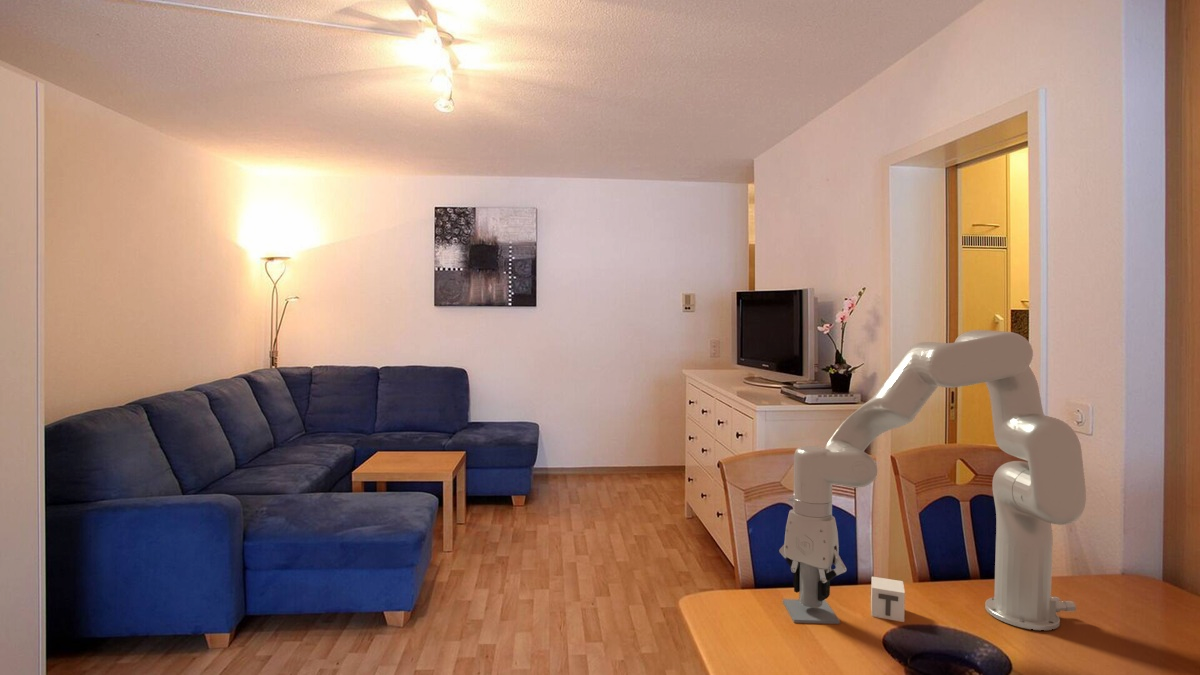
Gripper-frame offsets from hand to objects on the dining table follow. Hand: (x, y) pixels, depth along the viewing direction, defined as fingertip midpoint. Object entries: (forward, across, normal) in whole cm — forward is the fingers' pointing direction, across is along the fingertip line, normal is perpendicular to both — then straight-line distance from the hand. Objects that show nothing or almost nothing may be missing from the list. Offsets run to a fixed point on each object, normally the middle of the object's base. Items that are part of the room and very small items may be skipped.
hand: (811, 593), depth 127 cm
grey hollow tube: (+2, 0, 0) cm, 2 cm away
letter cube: (+4, +10, +12) cm, 16 cm away
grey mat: (+4, 0, 0) cm, 4 cm away
